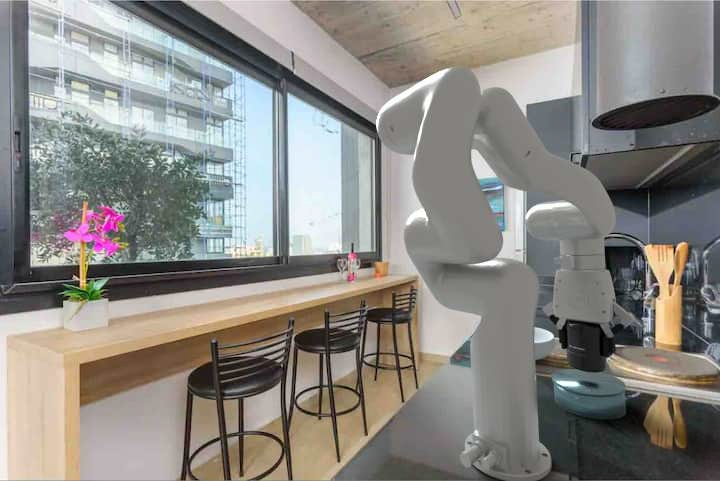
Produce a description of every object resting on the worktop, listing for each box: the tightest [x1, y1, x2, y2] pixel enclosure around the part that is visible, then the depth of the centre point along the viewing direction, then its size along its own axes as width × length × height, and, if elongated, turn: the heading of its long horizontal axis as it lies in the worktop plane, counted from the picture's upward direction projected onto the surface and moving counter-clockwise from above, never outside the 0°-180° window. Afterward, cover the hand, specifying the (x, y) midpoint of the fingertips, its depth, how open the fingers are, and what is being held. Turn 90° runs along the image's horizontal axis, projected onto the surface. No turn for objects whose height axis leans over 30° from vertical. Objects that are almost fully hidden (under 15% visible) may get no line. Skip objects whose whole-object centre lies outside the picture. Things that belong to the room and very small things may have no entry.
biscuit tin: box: [551, 368, 627, 421], centre depth 70 cm, size 12×12×5 cm
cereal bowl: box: [534, 326, 556, 362], centre depth 98 cm, size 17×17×7 cm
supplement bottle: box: [566, 320, 608, 373], centre depth 70 cm, size 7×7×12 cm
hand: (586, 350), depth 70 cm, fingers closed on supplement bottle, 6 cm apart
